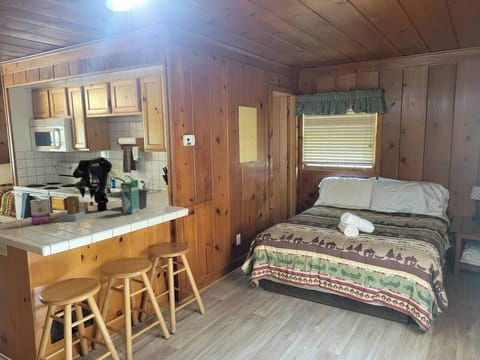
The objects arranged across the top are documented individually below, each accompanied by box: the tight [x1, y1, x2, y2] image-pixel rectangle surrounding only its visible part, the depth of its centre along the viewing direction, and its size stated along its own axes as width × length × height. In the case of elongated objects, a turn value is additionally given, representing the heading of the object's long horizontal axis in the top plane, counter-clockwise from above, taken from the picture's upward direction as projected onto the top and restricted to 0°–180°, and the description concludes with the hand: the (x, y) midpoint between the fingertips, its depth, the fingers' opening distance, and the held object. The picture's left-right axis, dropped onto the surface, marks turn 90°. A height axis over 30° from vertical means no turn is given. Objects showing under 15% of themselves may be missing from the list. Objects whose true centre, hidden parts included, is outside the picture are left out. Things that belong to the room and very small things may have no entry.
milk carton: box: [120, 179, 140, 215], centre depth 269 cm, size 9×9×25 cm
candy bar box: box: [29, 198, 52, 226], centre depth 240 cm, size 11×5×16 cm, turn 117°
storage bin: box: [119, 188, 149, 210], centre depth 290 cm, size 21×16×14 cm
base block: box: [61, 212, 86, 222], centre depth 252 cm, size 11×11×4 cm
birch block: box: [79, 201, 89, 214], centre depth 273 cm, size 5×5×8 cm
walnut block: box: [66, 195, 80, 214], centre depth 251 cm, size 6×6×12 cm
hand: (87, 197), depth 264 cm, fingers open, 9 cm apart
